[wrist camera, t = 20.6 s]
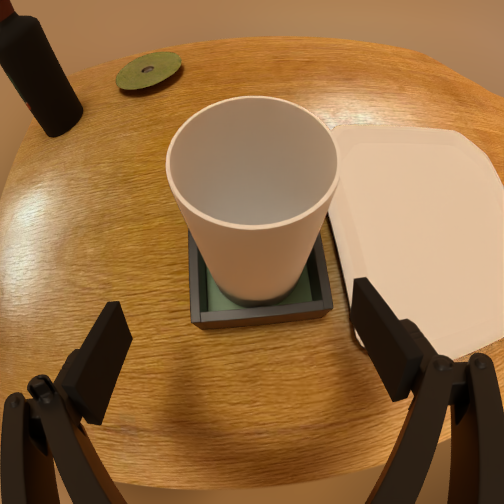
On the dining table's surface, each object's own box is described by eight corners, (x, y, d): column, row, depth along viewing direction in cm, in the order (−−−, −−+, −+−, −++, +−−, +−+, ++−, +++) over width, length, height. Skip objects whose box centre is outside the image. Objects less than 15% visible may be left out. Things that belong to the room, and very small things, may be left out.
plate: (357, 388, 24) (365, 390, 22) (300, 136, 35) (302, 124, 33) (535, 317, 25) (546, 313, 23) (469, 140, 36) (475, 131, 33)
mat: (189, 56, 43) (187, 48, 41) (174, 93, 39) (172, 84, 37) (131, 64, 43) (128, 56, 42) (109, 102, 39) (105, 93, 37)
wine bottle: (65, 138, 37) (-21, -12, 9) (39, 136, 38) (-41, 7, 10) (91, 104, 39) (26, -42, 12) (63, 104, 40) (-1, -23, 13)
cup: (194, 263, 28) (134, 154, 13) (257, 210, 30) (256, 78, 15) (254, 327, 26) (248, 272, 11) (318, 266, 28) (375, 157, 13)
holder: (201, 330, 27) (190, 322, 22) (197, 147, 35) (190, 120, 30) (322, 317, 27) (333, 308, 23) (288, 139, 35) (291, 112, 30)
